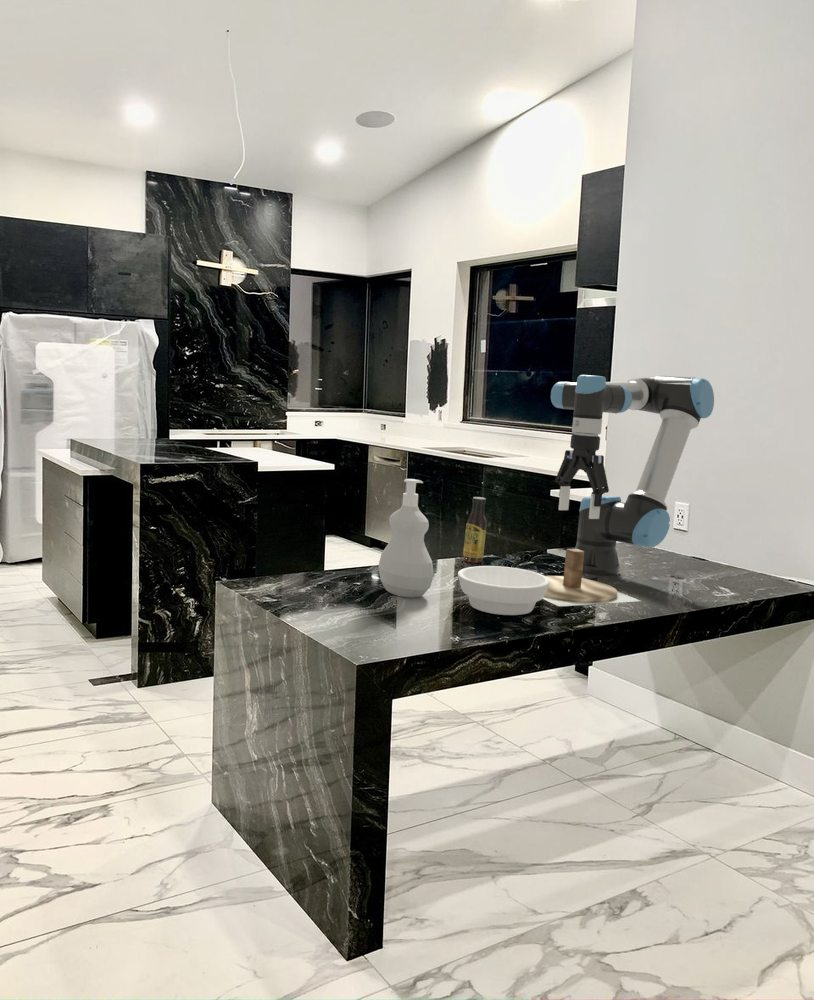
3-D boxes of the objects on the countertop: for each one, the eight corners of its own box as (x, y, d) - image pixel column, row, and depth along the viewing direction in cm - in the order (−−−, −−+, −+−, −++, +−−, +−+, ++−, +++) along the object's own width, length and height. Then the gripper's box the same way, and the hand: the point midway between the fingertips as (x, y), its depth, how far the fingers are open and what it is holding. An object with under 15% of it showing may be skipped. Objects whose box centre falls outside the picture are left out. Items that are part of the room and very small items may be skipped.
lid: (581, 578, 248) (584, 540, 247) (635, 600, 227) (640, 558, 225) (509, 581, 238) (513, 542, 236) (560, 605, 216) (564, 561, 215)
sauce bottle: (458, 560, 265) (463, 496, 262) (471, 558, 269) (475, 495, 266) (475, 564, 260) (480, 499, 257) (487, 562, 265) (492, 498, 262)
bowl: (484, 592, 227) (487, 561, 226) (562, 610, 214) (565, 577, 213) (437, 608, 209) (440, 574, 208) (520, 628, 196) (523, 592, 195)
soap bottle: (443, 598, 218) (451, 483, 213) (408, 604, 210) (416, 485, 206) (399, 583, 230) (406, 474, 226) (365, 588, 222) (372, 476, 218)
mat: (581, 579, 250) (581, 577, 249) (641, 603, 226) (641, 600, 226) (504, 583, 239) (504, 581, 238) (558, 608, 215) (559, 606, 215)
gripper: (547, 430, 236) (540, 506, 239) (603, 438, 213) (595, 522, 216) (569, 431, 239) (562, 506, 242) (628, 439, 217) (619, 522, 220)
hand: (578, 514), depth 229 cm, fingers open, 13 cm apart
